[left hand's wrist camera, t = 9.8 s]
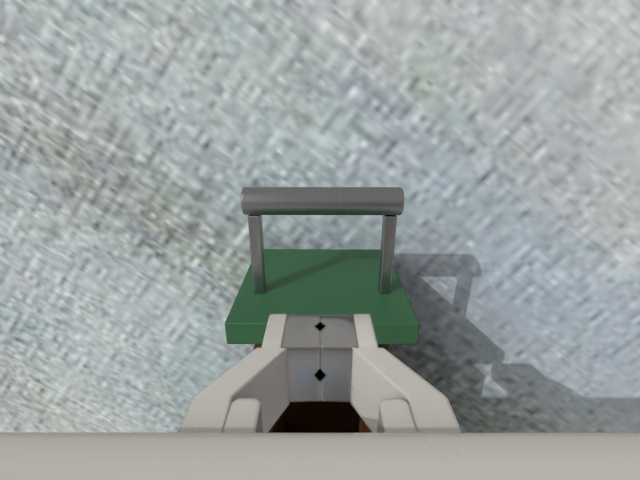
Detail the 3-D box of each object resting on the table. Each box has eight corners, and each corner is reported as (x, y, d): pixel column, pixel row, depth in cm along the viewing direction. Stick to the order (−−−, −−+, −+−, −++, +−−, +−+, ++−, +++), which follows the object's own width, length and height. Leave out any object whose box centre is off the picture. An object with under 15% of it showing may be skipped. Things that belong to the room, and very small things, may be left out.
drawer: (251, 167, 22) (210, 204, 14) (393, 167, 22) (435, 204, 14) (270, 437, 31) (251, 558, 23) (371, 437, 31) (390, 558, 23)
